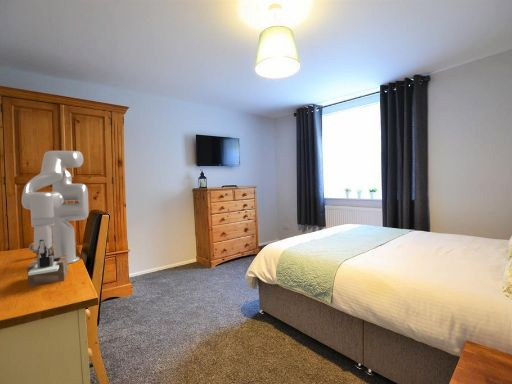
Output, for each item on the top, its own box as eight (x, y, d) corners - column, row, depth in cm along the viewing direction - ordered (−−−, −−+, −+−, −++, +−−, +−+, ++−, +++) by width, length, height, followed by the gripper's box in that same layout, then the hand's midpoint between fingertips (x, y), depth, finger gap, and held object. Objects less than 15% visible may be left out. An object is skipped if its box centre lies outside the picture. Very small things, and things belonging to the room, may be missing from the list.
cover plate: (35, 266, 115) (34, 255, 115) (61, 263, 120) (60, 252, 120) (28, 275, 104) (27, 263, 104) (57, 270, 109) (56, 258, 109)
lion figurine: (32, 260, 150) (31, 244, 149) (27, 259, 152) (26, 243, 152) (61, 253, 163) (60, 238, 162) (56, 252, 165) (55, 238, 165)
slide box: (35, 276, 121) (34, 259, 121) (67, 271, 127) (66, 255, 127) (28, 286, 109) (27, 267, 108) (64, 280, 115) (63, 262, 114)
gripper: (35, 220, 117) (38, 262, 117) (26, 225, 102) (29, 272, 103) (57, 219, 120) (59, 259, 121) (50, 223, 106) (53, 268, 107)
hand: (45, 264), depth 112 cm, fingers closed on cover plate, 3 cm apart
